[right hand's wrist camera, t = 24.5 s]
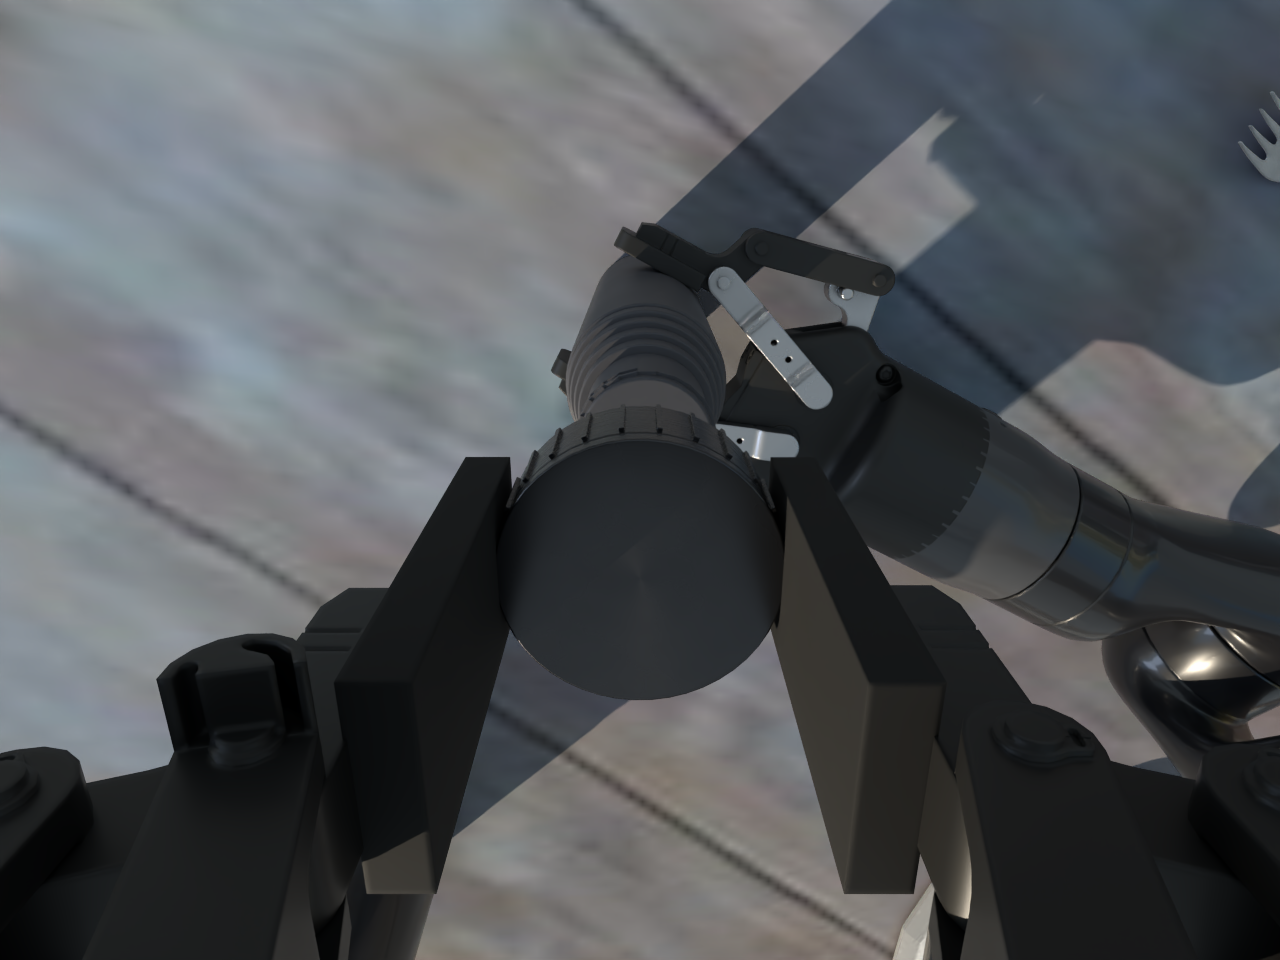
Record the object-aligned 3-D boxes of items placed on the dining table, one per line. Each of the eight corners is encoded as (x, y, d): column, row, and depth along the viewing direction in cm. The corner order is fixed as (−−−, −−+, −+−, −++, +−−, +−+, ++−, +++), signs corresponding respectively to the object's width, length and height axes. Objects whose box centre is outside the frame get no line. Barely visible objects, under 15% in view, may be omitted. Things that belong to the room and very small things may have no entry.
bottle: (625, 232, 39) (605, 302, 19) (715, 285, 40) (788, 406, 20) (576, 324, 40) (508, 479, 20) (663, 373, 41) (682, 569, 21)
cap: (468, 586, 15) (446, 639, 13) (571, 354, 13) (561, 383, 12) (698, 679, 16) (705, 742, 14) (821, 470, 14) (846, 512, 12)
